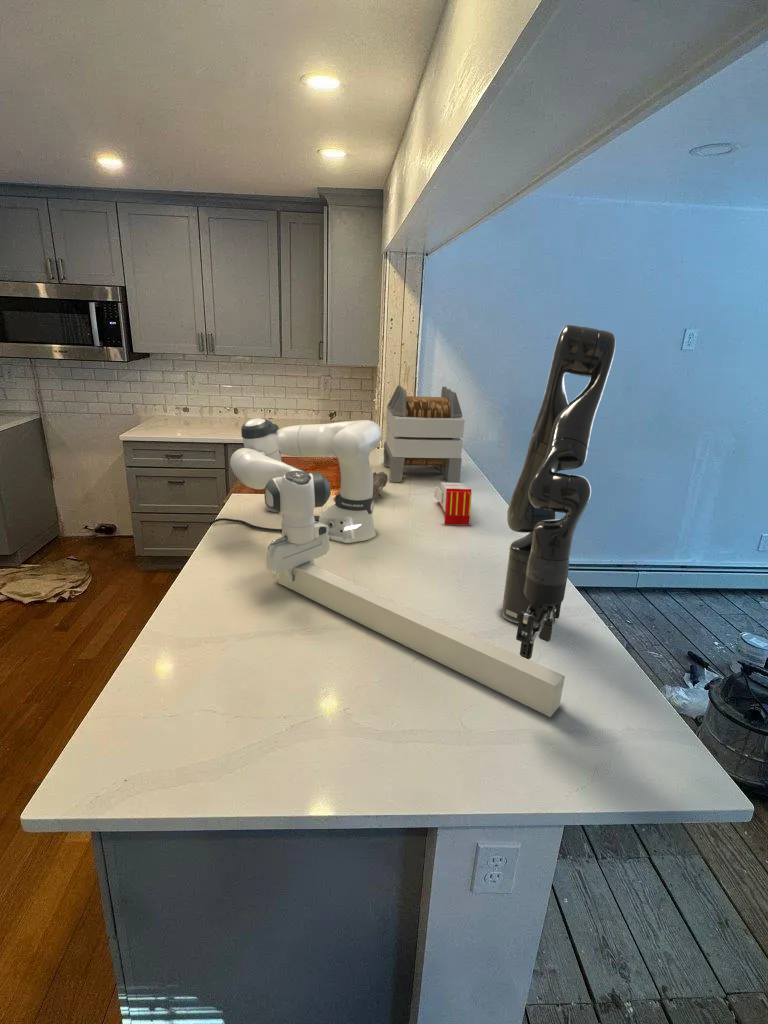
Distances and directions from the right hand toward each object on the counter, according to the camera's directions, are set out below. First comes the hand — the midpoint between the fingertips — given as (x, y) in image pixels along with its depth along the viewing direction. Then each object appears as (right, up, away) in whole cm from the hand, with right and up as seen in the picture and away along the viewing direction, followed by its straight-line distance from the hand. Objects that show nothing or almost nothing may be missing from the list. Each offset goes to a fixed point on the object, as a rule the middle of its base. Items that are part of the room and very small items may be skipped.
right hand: (535, 648), depth 113 cm
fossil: (-35, +34, +125) cm, 134 cm away
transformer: (-13, +46, +162) cm, 169 cm away
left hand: (-54, +9, +45) cm, 71 cm away
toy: (-4, +27, +110) cm, 113 cm away
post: (-27, -3, +25) cm, 37 cm away
